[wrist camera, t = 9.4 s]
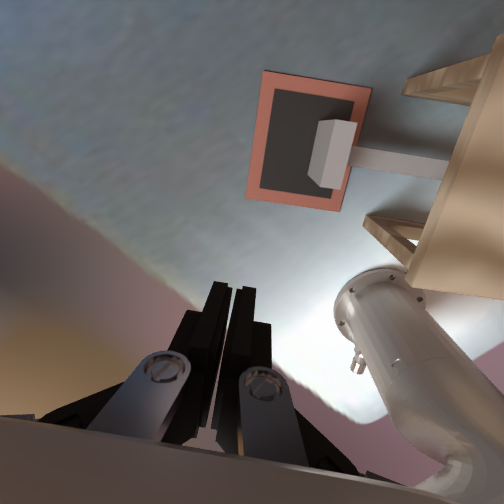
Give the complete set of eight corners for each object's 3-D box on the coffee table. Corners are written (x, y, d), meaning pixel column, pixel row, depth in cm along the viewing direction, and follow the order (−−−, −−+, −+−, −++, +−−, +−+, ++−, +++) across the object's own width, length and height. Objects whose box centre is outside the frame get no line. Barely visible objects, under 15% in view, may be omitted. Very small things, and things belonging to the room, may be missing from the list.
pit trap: (338, 211, 39) (339, 212, 38) (245, 197, 38) (245, 198, 38) (371, 88, 33) (371, 88, 33) (263, 71, 33) (263, 70, 33)
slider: (581, 241, 39) (656, 268, 32) (302, 199, 38) (312, 217, 30) (641, 141, 34) (746, 146, 27) (325, 90, 33) (344, 79, 26)
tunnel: (441, 244, 40) (532, 304, 27) (360, 233, 40) (412, 287, 26) (507, 85, 33) (677, 57, 20) (409, 69, 33) (514, 29, 19)
